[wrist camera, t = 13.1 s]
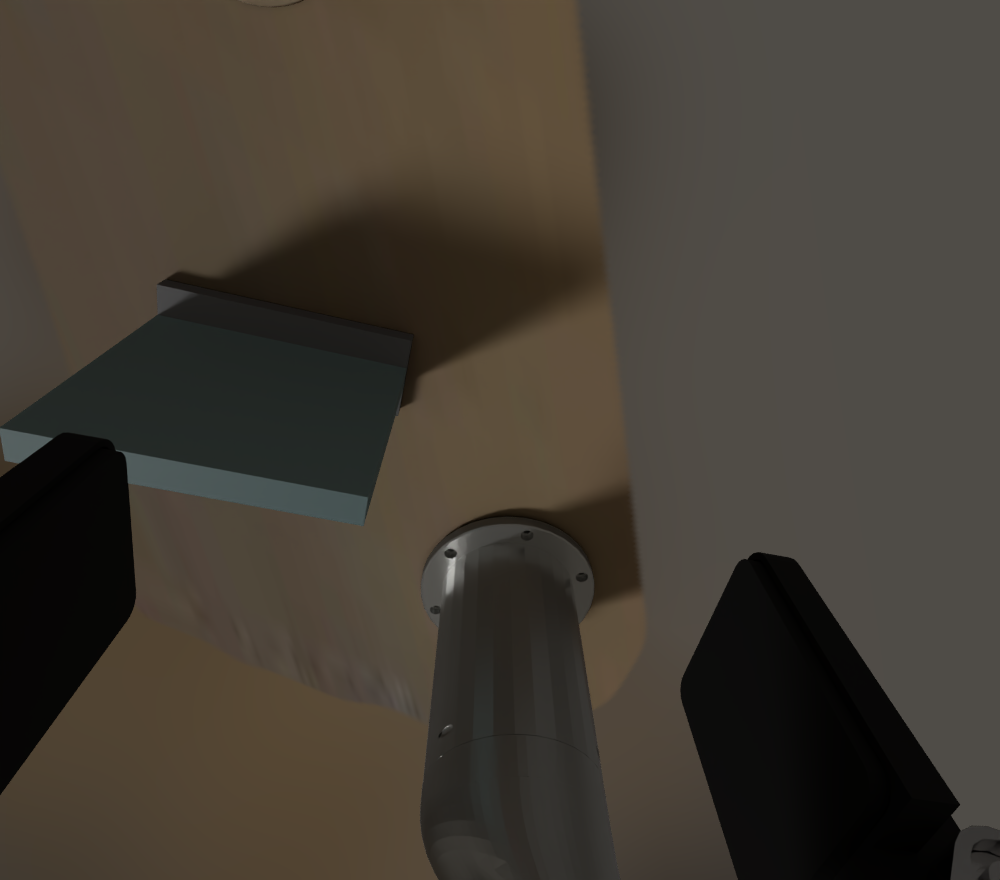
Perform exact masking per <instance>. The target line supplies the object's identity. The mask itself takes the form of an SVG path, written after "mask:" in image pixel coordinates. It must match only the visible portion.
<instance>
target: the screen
mask: <svg viewBox="0 0 1000 880" xmlns="http://www.w3.org/2000/svg"><path fill="white" fill-rule="evenodd" d="M157 305H158V315H157V316H155V317H154V318H153V319H151V320H150V321H148V322H147V323H146V324H144V325H143V326H141V327H140V328H139V329H137V330H136V331H134V332H133V333H132V334H130V335H129V336H127V337H126V338H125V339H123V340H122V341H120V342H119V343H118V344H116V345H115V346H113V347H112V348H111V349H109V350H108V351H106V352H105V353H104V354H102V355H101V356H99V357H98V358H97V359H95V360H94V361H92V362H91V363H90V364H88V365H87V366H85V367H84V368H83V369H81V370H80V371H78V372H77V373H76V374H74V375H73V376H71V377H70V378H68V379H67V380H66V381H64V382H63V383H62V384H60V385H59V386H57V387H56V388H54V389H53V390H52V391H50V392H49V393H48V394H46V395H45V396H43V397H42V398H40V399H39V400H38V401H36V402H35V403H34V404H32V405H31V406H29V407H28V408H27V409H25V410H24V411H22V412H21V413H19V414H18V415H17V416H15V417H14V418H12V419H11V420H10V421H8V422H7V423H5V424H4V425H3V426H1V427H0V435H1V441H2V447H3V452H4V458H5V461H9V462H15V463H21V462H22V461H23V460H25V459H26V458H27V457H29V456H30V455H31V454H33V453H34V452H36V451H37V450H38V449H40V448H41V447H42V446H44V445H45V444H46V443H48V442H49V441H51V440H52V439H53V438H55V437H56V436H57V435H59V434H61V433H66V432H69V433H75V434H81V435H86V436H92V437H98V438H104V439H108V440H110V441H111V442H112V443H113V445H114V446H115V450H116V451H119V452H122V453H123V454H124V455H125V457H126V462H127V475H128V483H130V484H136V485H141V486H147V487H152V488H158V489H163V490H168V491H174V492H179V493H185V494H190V495H196V496H201V497H207V498H212V499H218V500H223V501H229V502H234V503H240V504H245V505H251V506H256V507H262V508H267V509H273V510H278V511H284V512H289V513H295V514H300V515H306V516H311V517H317V518H322V519H328V520H333V521H339V522H344V523H350V524H355V525H361V526H364V522H365V519H366V515H367V512H368V508H369V505H370V501H371V498H372V495H373V491H374V488H375V484H376V481H377V477H378V474H379V470H380V467H381V463H382V460H383V457H384V453H385V450H386V446H387V443H388V439H389V436H390V432H391V429H392V425H393V422H394V419H395V416H398V414H399V411H400V406H401V401H402V395H403V390H404V384H405V379H406V373H407V368H408V362H409V357H410V351H411V346H412V340H413V334H408V333H404V332H399V331H395V330H391V329H386V328H382V327H377V326H373V325H368V324H364V323H359V322H355V321H350V320H346V319H341V318H337V317H332V316H328V315H323V314H319V313H314V312H310V311H305V310H301V309H296V308H292V307H287V306H283V305H278V304H274V303H269V302H265V301H260V300H256V299H251V298H247V297H242V296H238V295H233V294H229V293H224V292H220V291H215V290H211V289H206V288H202V287H197V286H193V285H188V284H184V283H179V282H175V281H170V280H166V279H165V280H163V281H162V282H160V283H159V284H157Z"/></svg>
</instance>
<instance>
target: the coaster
mask: <svg viewBox="0 0 1000 880" xmlns="http://www.w3.org/2000/svg"><path fill="white" fill-rule="evenodd" d="M238 1H241V2H244V3H247V4H251V5H256V6H261V7H281V6H289V5H292V4H296V3H299V2H301V1H304V0H238Z"/></svg>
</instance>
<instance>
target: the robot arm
mask: <svg viewBox="0 0 1000 880" xmlns="http://www.w3.org/2000/svg"><path fill="white" fill-rule="evenodd" d="M593 597H594V578H593V573H592V568H591V565H590V563H589V560H588V557H587V556H586V554H585V553H584V551H583V550H582V548H581V547H580V545H579V544H577V543H576V542H575V541H574V540H573V539H572V538H571V537H570V536H569V535H567V534H566V533H564V532H563V531H561V530H560V529H558V528H556V527H554V526H551V525H549V524H547V523H544V522H542V521H537V520H533V519H529V518H522V517H496V518H488V519H484V520H480V521H476V522H473V523H470V524H468V525H466V526H463V527H461V528H459V529H457V530H455V531H454V532H452V533H451V534H449V535H448V536H446V537H445V538H444V539H443V540H442V541H441V542H440V543H439V544H438V545H437V546H436V547H435V548H434V549H433V551H432V552H431V554H430V555H429V557H428V558H427V561H426V564H425V566H424V569H423V574H422V580H421V598H422V601H423V605H424V609H425V610H426V612H427V614H428V616H429V617H430V619H431V620H432V622H433V623H434V624H435V625H436V626H437V627H438V628H439V629H438V639H437V649H436V659H435V669H434V679H433V689H432V699H431V709H430V719H429V729H428V739H427V749H426V759H425V769H424V779H423V785H422V796H421V807H420V824H421V832H422V838H423V843H424V846H425V850H426V854H427V857H428V859H429V861H430V864H431V866H432V868H433V870H434V873H435V874H436V876H437V878H438V879H439V880H620V876H619V871H618V866H617V862H616V856H615V851H614V845H613V839H612V833H611V828H610V821H609V815H608V809H607V803H606V796H605V790H604V784H603V777H602V771H601V764H600V758H599V751H598V745H597V739H596V732H595V725H594V719H593V713H592V706H591V700H590V693H589V687H588V680H587V674H586V667H585V661H584V654H583V648H582V641H581V635H580V628H579V624H580V623H581V621H582V620H583V619H584V618H585V616H586V614H587V613H588V611H589V609H590V607H591V604H592V600H593ZM135 599H136V586H135V572H134V558H133V544H132V530H131V516H130V503H129V489H128V475H127V462H126V457H125V455H124V454H123V453H122V452H119V451H116V450H115V446H114V445H113V443H112V442H111V441H110V440H108V439H104V438H98V437H92V436H86V435H81V434H75V433H69V432H66V433H61V434H59V435H57V436H56V437H55V438H53V439H52V440H51V441H49V442H48V443H46V444H45V445H44V446H42V447H41V448H40V449H38V450H37V451H36V452H34V453H33V454H31V455H30V456H29V457H27V458H26V459H25V460H23V461H22V462H21V463H19V464H18V465H17V466H15V467H14V468H12V469H11V470H10V471H8V472H7V473H6V474H4V475H3V476H1V477H0V795H1V793H2V792H3V790H4V789H5V788H6V786H7V785H8V784H9V782H10V781H11V779H12V778H13V777H14V775H15V774H16V772H17V771H18V770H19V768H20V767H21V766H22V764H23V763H24V762H25V760H26V759H27V757H28V756H29V755H30V753H31V752H32V751H33V749H34V748H35V746H36V745H37V744H38V742H39V741H40V740H41V738H42V737H43V736H44V734H45V733H46V731H47V730H48V729H49V727H50V726H51V725H52V723H53V722H54V720H55V719H56V718H57V716H58V715H59V713H60V712H61V711H62V709H63V708H64V707H65V705H66V704H67V702H68V701H69V700H70V698H71V697H72V696H73V694H74V693H75V692H76V690H77V689H78V687H79V686H80V685H81V683H82V682H83V680H84V679H85V678H86V676H87V675H88V674H89V672H90V671H91V670H92V668H93V667H94V665H95V664H96V663H97V661H98V660H99V659H100V657H101V656H102V654H103V653H104V652H105V650H106V649H107V648H108V646H109V645H110V644H111V642H112V641H113V639H114V638H115V637H116V635H117V634H118V632H119V631H120V630H121V628H122V627H123V626H124V624H125V623H126V622H127V620H128V618H129V617H130V615H131V613H132V610H133V608H134V604H135ZM681 699H682V703H683V707H684V710H685V713H686V716H687V719H688V722H689V726H690V729H691V732H692V735H693V738H694V741H695V744H696V747H697V751H698V754H699V757H700V760H701V764H702V767H703V770H704V773H705V776H706V780H707V782H708V786H709V789H710V792H711V795H712V798H713V802H714V805H715V808H716V811H717V814H718V818H719V821H720V824H721V827H722V830H723V833H724V837H725V839H726V843H727V846H728V849H729V852H730V856H731V859H732V862H733V865H734V868H735V871H736V875H737V878H738V880H1000V830H997V829H994V828H991V827H988V826H970V827H968V828H966V829H964V830H962V831H961V830H960V829H959V827H958V826H957V824H956V823H955V821H954V820H953V818H952V817H951V814H953V812H954V811H955V810H956V809H957V808H958V807H959V806H960V804H959V802H958V801H957V799H956V798H955V796H954V795H953V793H952V792H951V790H950V789H949V788H948V786H947V785H946V783H945V782H944V780H943V779H942V777H941V776H940V774H939V773H938V771H937V770H936V768H935V767H934V765H933V764H932V762H931V761H930V759H929V758H928V756H927V755H926V753H925V752H924V750H923V749H922V747H921V746H920V744H919V743H918V741H917V740H916V738H915V737H914V735H913V734H912V732H911V731H910V729H909V728H908V726H907V725H906V723H905V722H904V720H903V719H902V717H901V716H900V714H899V713H898V711H897V710H896V708H895V707H894V706H893V704H892V703H891V701H890V700H889V698H888V697H887V695H886V694H885V692H884V691H883V689H882V688H881V686H880V685H879V683H878V682H877V680H876V679H875V677H874V676H873V674H872V673H871V671H870V670H869V668H868V667H867V665H866V664H865V662H864V661H863V659H862V658H861V656H860V655H859V653H858V652H857V650H856V649H855V647H854V646H853V644H852V643H851V641H850V640H849V638H848V637H847V635H846V634H845V632H844V631H843V629H842V628H841V626H840V625H839V623H838V622H837V621H836V619H835V618H834V616H833V615H832V613H831V612H830V610H829V609H828V607H827V606H826V604H825V603H824V601H823V600H822V598H821V597H820V595H819V594H818V592H817V591H816V589H815V588H814V586H813V585H812V583H811V582H810V580H809V579H808V577H807V576H806V574H805V573H804V571H803V570H802V568H801V567H800V565H799V564H798V563H797V562H796V561H795V560H794V559H792V558H789V557H783V556H777V555H772V554H766V553H760V552H757V553H753V554H752V555H751V556H750V557H749V558H748V560H746V559H743V560H741V561H739V563H738V564H737V565H736V567H735V569H734V571H733V573H732V575H731V578H730V580H729V582H728V584H727V586H726V588H725V590H724V592H723V594H722V596H721V598H720V600H719V602H718V605H717V607H716V609H715V611H714V613H713V615H712V617H711V619H710V621H709V623H708V625H707V627H706V629H705V632H704V634H703V636H702V638H701V640H700V642H699V644H698V646H697V648H696V650H695V652H694V655H693V656H692V659H691V661H690V663H689V665H688V667H687V669H686V671H685V673H684V675H683V678H682V682H681Z"/></svg>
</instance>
